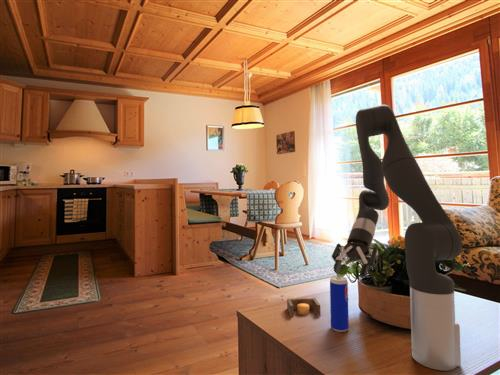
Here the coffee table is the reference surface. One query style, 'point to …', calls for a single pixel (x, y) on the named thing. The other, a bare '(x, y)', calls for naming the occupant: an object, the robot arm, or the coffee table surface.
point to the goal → (311, 302)
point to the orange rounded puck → (303, 309)
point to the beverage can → (339, 303)
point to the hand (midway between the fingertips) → (348, 274)
